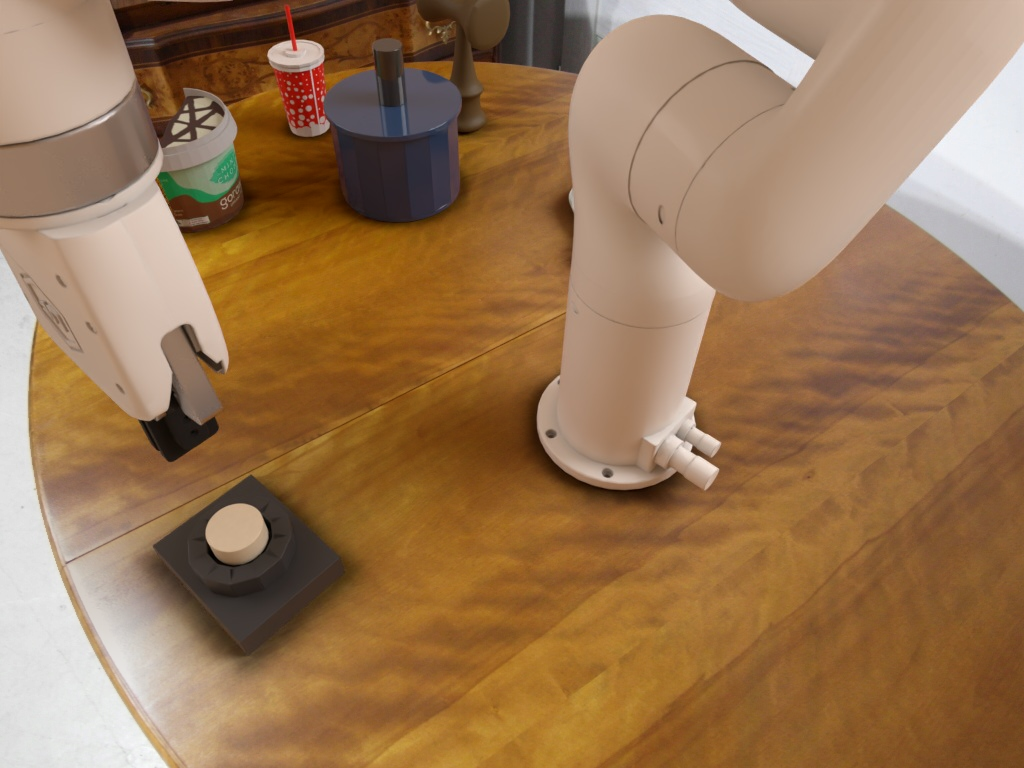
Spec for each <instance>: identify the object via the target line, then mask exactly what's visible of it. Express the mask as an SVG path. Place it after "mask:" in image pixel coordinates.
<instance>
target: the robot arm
mask: <svg viewBox="0 0 1024 768" xmlns="http://www.w3.org/2000/svg"><path fill="white" fill-rule="evenodd" d="M150 1H151V2H152V1H153V2H155V1H156V2H186V3H187V2H188V3H218V2H231V1H232V0H149V2H150ZM728 1H730V3H731V4H732V5H733V6H734V7H736V9H738V10H739V11H740V12H741V13H743V14H744V15H746V16H747V17H749V18H750V19H752V20H753V21H754V22H756V23H757V24H759V25H760V26H762V27H763V28H764V29H766V30H767V31H769V32H770V33H772V34H774V35H775V36H777V37H778V38H779V39H781V40H783V41H785V42H786V43H787V44H789V45H790V46H792V47H794V49H797V50H798V51H800V52H801V53H803V54H805V55H806V56H807V57H809V58H811V60H814V61H813V63H812V64H811V65H810V68H809V69H808V70H807V72H806V74H805V75H804V76H803V78H802V79H801V81H800V82H799V84H798V85H797V87H796V86H794V85H793V84H791V83H790V82H788V81H787V80H785V79H784V78H782V77H781V76H779V75H778V74H777V73H775V71H774V70H773V69H772V68H770V67H769V66H768V65H766V64H765V63H763V62H762V61H760V60H758V59H757V58H755V57H754V56H753V55H751V54H750V53H749V52H747V51H745V50H744V49H742V48H741V47H740V46H739V45H736V44H735V43H734V42H733V41H731V40H729V39H728V38H726V37H725V36H724V35H722V34H720V33H719V32H717V31H715V30H713V29H712V28H710V27H708V26H706V25H704V24H702V23H700V22H698V21H694V20H691V19H689V18H686V17H682V16H680V15H679V16H678V15H674V14H661V13H660V14H650V15H644V16H641V17H637V18H632V19H630V20H628V21H625V22H624V23H622V24H620V25H619V26H617V27H615V28H614V29H612V30H611V31H610V32H608V33H607V34H606V35H605V36H604V37H603V38H602V39H601V40H600V41H599V42H598V43H597V44H596V45H595V46H594V48H593V49H592V50H591V52H590V53H589V55H588V56H587V57H586V59H585V61H584V62H583V65H582V66H581V68H580V70H579V73H578V74H577V77H576V79H575V82H574V85H573V88H572V89H573V90H572V93H571V98H570V103H569V111H568V122H567V125H568V126H567V137H568V138H567V139H568V140H567V141H568V155H569V165H570V175H571V183H572V188H573V195H574V213H573V237H572V238H573V239H572V252H571V262H570V263H571V264H570V271H569V280H568V289H567V300H566V312H565V322H564V332H563V343H562V354H561V361H560V362H561V363H560V373H559V375H557V376H556V377H554V379H553V380H552V381H551V382H550V383H549V384H548V385H547V387H546V388H545V389H544V391H543V393H542V394H541V397H540V398H539V399H540V400H539V402H538V405H537V413H536V430H537V435H538V438H539V441H540V444H541V445H542V447H543V449H544V451H545V453H546V454H547V455H548V456H549V458H550V459H551V461H553V463H554V464H555V465H557V466H558V467H559V468H560V469H561V470H563V472H565V473H567V475H569V476H571V477H572V478H575V479H576V480H578V481H581V482H583V483H586V484H588V485H590V486H593V487H597V488H603V489H606V490H617V491H629V490H630V491H631V490H640V489H644V488H647V487H651V486H654V485H657V484H659V483H661V482H663V481H666V480H667V479H669V478H670V477H672V476H673V475H674V474H675V473H679V474H681V475H682V476H683V478H685V479H686V480H687V481H689V482H690V483H692V484H693V485H695V486H696V487H698V488H699V489H701V490H702V491H704V492H705V491H707V490H708V489H709V488H710V486H712V484H713V483H714V481H715V479H716V478H717V476H718V474H719V472H720V468H718V466H716V465H714V464H713V463H711V462H709V461H708V460H706V459H705V458H703V457H702V456H700V455H696V454H695V453H693V452H692V449H693V447H695V448H696V450H698V451H700V452H701V453H703V455H706V456H707V457H708V458H710V459H712V458H714V457H715V455H716V454H717V453H718V451H719V450H720V448H721V445H722V442H721V441H719V440H717V438H714V437H713V436H711V435H709V434H708V433H705V432H703V431H702V430H701V429H698V428H697V423H696V419H695V414H694V413H695V411H696V407H697V401H694V400H693V399H692V398H690V397H689V396H687V393H688V389H689V386H690V382H691V379H692V375H693V371H694V368H695V364H696V361H697V358H698V354H699V350H700V347H701V344H702V340H703V337H704V333H705V329H706V325H707V323H708V319H709V315H710V312H711V308H712V305H713V301H714V299H715V296H716V293H717V292H718V293H720V294H721V295H722V296H725V297H727V298H729V299H731V300H735V301H738V302H743V303H751V304H752V303H756V304H758V303H763V302H769V301H773V300H776V299H779V298H781V297H784V296H786V295H788V294H791V293H792V292H795V290H797V289H799V288H801V287H802V286H804V285H805V284H807V283H808V282H809V281H811V280H812V279H813V278H815V277H816V276H817V275H819V273H820V272H821V271H823V270H824V269H825V268H826V267H827V266H829V265H830V264H831V262H833V260H835V259H836V258H837V257H838V256H839V255H840V254H841V253H842V251H844V250H845V248H846V247H847V246H848V245H849V244H850V243H851V242H852V241H853V240H854V239H855V238H856V237H857V235H859V233H860V232H861V231H862V230H863V229H864V228H865V227H866V225H868V223H869V222H870V221H871V220H872V219H873V218H874V216H875V215H876V214H877V213H878V212H879V211H880V210H881V209H882V208H883V207H884V205H885V204H886V203H887V202H888V201H889V200H890V198H891V197H893V195H894V194H895V193H896V192H897V191H898V190H899V189H900V187H901V186H902V185H903V184H904V183H905V181H907V180H908V179H909V177H910V176H911V175H912V174H913V173H914V172H915V171H916V170H917V168H918V167H920V165H921V164H922V163H923V161H924V160H925V159H926V158H927V157H929V155H930V153H932V151H933V150H934V149H935V148H936V147H937V146H938V145H939V144H940V142H941V141H942V140H943V139H944V138H945V136H947V134H948V133H949V132H950V131H951V130H952V129H953V128H954V126H955V125H956V124H957V123H958V122H959V121H960V120H961V119H962V118H963V116H964V115H965V114H966V113H967V112H968V111H969V110H970V109H971V107H972V106H973V105H974V104H975V103H976V102H977V100H979V98H980V97H981V96H982V95H983V94H984V93H985V92H986V90H987V89H988V88H989V86H991V84H993V82H994V81H995V80H996V78H997V77H998V76H999V75H1000V74H1001V72H1002V71H1003V70H1004V69H1005V68H1006V66H1007V65H1008V64H1009V62H1011V60H1012V59H1013V58H1014V56H1015V55H1016V54H1017V53H1018V51H1019V50H1020V48H1021V47H1022V45H1023V44H1024V0H728ZM162 165H163V152H162V148H161V146H160V140H159V138H158V135H157V132H156V130H155V126H154V124H153V121H152V119H151V114H150V112H149V109H148V107H147V104H146V101H145V98H144V95H143V93H142V90H141V86H140V84H139V80H138V78H137V75H136V73H135V70H134V66H133V62H132V60H131V58H130V55H129V51H128V49H127V46H126V43H125V39H124V37H123V34H122V32H121V29H120V26H119V22H118V20H117V18H116V14H115V11H114V9H113V5H112V3H111V0H0V252H1V254H2V255H3V257H4V259H5V261H6V263H7V265H8V267H9V269H10V270H11V272H12V275H13V276H14V278H15V280H16V283H17V284H18V286H19V288H20V290H21V291H22V294H23V296H24V297H25V299H26V301H27V303H28V305H29V307H30V309H31V311H32V312H33V314H34V316H35V318H36V320H37V322H38V323H39V325H40V326H41V328H42V329H43V331H44V332H45V333H46V334H47V335H48V337H49V338H50V339H51V340H52V341H53V342H54V344H55V345H56V346H57V347H58V348H59V349H60V350H61V351H62V352H63V353H64V354H65V355H66V356H67V357H68V358H69V359H70V360H71V361H72V362H73V363H74V364H75V365H76V366H77V367H78V368H79V369H80V370H81V371H82V372H83V373H84V374H85V375H86V376H87V377H88V378H89V379H90V380H91V381H92V382H93V383H94V384H95V385H96V386H97V387H98V388H99V389H100V390H101V391H102V392H103V393H104V394H105V395H106V396H107V397H108V398H110V399H111V401H113V403H115V405H117V406H118V407H119V408H120V409H121V410H122V411H123V412H124V413H126V414H127V415H128V416H129V417H131V418H134V419H136V420H137V421H138V423H139V425H140V427H141V429H142V430H143V432H144V434H145V436H146V438H147V440H148V442H149V444H150V445H151V446H152V447H153V448H154V449H155V450H156V451H157V452H160V455H161V456H162V457H163V458H164V459H165V460H166V462H168V463H174V462H176V461H177V460H178V459H180V458H181V457H183V456H185V455H187V453H189V452H191V451H192V450H193V449H195V448H197V447H199V446H200V445H201V444H203V443H204V442H206V441H207V440H208V439H210V438H211V437H213V436H215V434H217V433H218V432H219V430H220V426H219V423H218V420H217V418H216V417H217V416H218V415H219V414H221V413H222V412H224V410H225V409H224V407H223V404H222V403H221V400H220V398H219V397H218V395H217V392H216V391H215V388H214V387H213V385H212V383H211V381H210V379H209V377H208V375H207V373H206V371H205V369H204V367H203V366H202V363H201V362H200V360H201V361H202V362H203V363H204V364H205V365H207V366H208V367H209V368H210V369H211V370H212V371H213V372H215V373H216V374H221V375H225V374H226V373H227V371H228V368H229V362H230V358H229V352H228V347H227V344H226V340H225V337H224V333H223V330H222V328H221V325H220V322H219V319H218V317H217V314H216V311H215V308H214V306H213V303H212V300H211V298H210V296H209V293H208V291H207V289H206V285H205V284H204V281H203V279H202V276H201V275H200V272H199V270H198V267H197V265H196V262H195V261H194V258H193V257H192V256H193V255H192V254H191V251H190V249H189V247H188V245H187V242H186V241H185V239H184V236H183V234H182V231H181V229H180V227H179V224H178V222H177V220H176V218H175V216H174V214H173V212H172V211H171V209H170V205H169V203H167V202H168V201H167V200H166V198H165V196H164V194H163V192H162V190H161V188H160V186H159V184H158V182H157V181H156V179H157V178H158V177H157V176H158V175H159V173H160V170H161V168H162Z"/></svg>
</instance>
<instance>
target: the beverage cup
mask: <svg viewBox="0 0 1024 768" xmlns="http://www.w3.org/2000/svg"><path fill="white" fill-rule="evenodd" d="M283 6H284V11H285V12H284V13H285V16H286V17H285V18H286V21H287V26H288V33H289V36H290V37H289V38H290V40H286V41H282V42H279V43H277V44H275V45H273V46H272V47H270V49H268V52H267V59H268V63H269V64H270V66H271V68H272V69H273V73H274V76H275V80H276V83H277V87H278V90H279V93H280V97H281V101H282V105H283V108H284V111H285V114H286V118H287V122H288V125H289V128H290V129H289V130H290V131H291V132H292V134H294V135H296V136H297V137H305V138H309V137H310V138H311V137H313V138H314V137H317V136H320V135H322V134H325V133H326V132H327V131H328V130H329V129H330V127H331V126H330V123H329V122H328V120H327V119H326V117H325V114H324V109H323V101H324V98H325V96H326V94H327V87H326V76H325V67H324V66H325V65H324V61H325V58H326V57H325V48H324V47H323V46H322V45H321V44H320V43H318V42H316V41H313V40H307V39H296V35H295V30H294V29H295V28H294V25H293V19H292V13H291V7H290V4H288V3H286V4H283Z"/></svg>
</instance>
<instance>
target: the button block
mask: <svg viewBox="0 0 1024 768" xmlns="http://www.w3.org/2000/svg"><path fill="white" fill-rule="evenodd" d="M233 504H248V505H251V506H253V507H255V508H256V509H257V510H258V511H259V512H260V513H261V515H262V517H263V520H264V522H265V524H266V527H267V529H268V533H269V538H268V543H267V545H266V547H265V549H264V550H263V552H262V553H261V554H260V555H259V556H258V557H256V558H255V559H254V560H252V561H250V562H248V563H245V564H241V565H229V564H225V563H223V562H221V561H220V560H218V559H217V558H216V556H215V555H214V553H213V551H212V549H211V547H210V545H209V544H208V542H207V539H206V527H207V524H208V522H209V520H210V519H211V518H212V516H213V515H214V514H215V513H217V512H218V511H219V510H221V509H222V508H224V507H226V506H229V505H233ZM152 548H153V550H154V551H155V553H156V555H157V556H158V557H159V559H160V560H161V562H162V563H163V564H164V566H165V567H166V568H167V569H168V570H169V571H170V572H171V573H172V574H173V575H174V576H175V578H176V579H177V580H178V581H179V582H180V583H181V584H182V585H183V586H184V588H185V589H186V590H187V591H188V592H189V593H190V594H191V595H192V597H193V598H195V599H196V601H197V602H198V603H199V604H200V605H201V606H202V607H203V609H204V610H205V611H206V612H207V613H208V614H209V616H211V618H212V619H213V620H214V621H215V622H216V623H217V624H218V626H219V627H221V628H222V629H223V631H224V632H225V633H226V634H227V635H228V637H230V639H232V641H234V643H235V644H236V645H237V647H239V648H240V650H242V652H243V653H244V654H245V655H246V656H247V657H250V656H251V655H252V654H253V653H254V652H255V651H256V650H258V649H259V648H260V647H261V646H262V645H264V643H266V642H267V641H268V640H269V639H270V638H272V636H274V635H275V634H276V633H277V632H278V631H279V630H280V629H282V628H283V627H284V626H285V625H286V624H287V623H289V622H290V621H291V620H292V619H293V618H295V617H296V616H297V615H298V614H300V612H302V611H303V610H304V609H305V608H306V607H307V606H308V605H310V604H311V603H312V602H313V601H314V600H315V599H317V598H318V597H319V596H320V595H321V594H322V593H323V592H325V590H327V589H328V588H329V587H330V586H331V585H332V584H334V583H335V582H336V581H337V580H338V579H339V578H341V577H342V576H343V575H344V574H345V573H346V571H345V568H344V565H343V562H342V558H341V556H340V555H339V553H337V552H336V551H334V549H332V548H331V546H329V545H328V544H327V542H325V541H324V540H323V539H322V538H320V537H319V536H318V535H317V534H316V533H315V532H314V531H313V530H312V529H311V528H310V527H309V526H308V525H307V524H305V523H304V522H303V520H301V518H299V517H298V516H297V515H296V514H295V513H294V512H292V511H291V509H289V508H288V507H287V506H286V504H284V503H283V502H282V501H281V500H280V499H278V497H277V496H275V494H273V493H272V492H271V491H270V490H269V489H268V488H267V487H266V486H265V485H263V483H262V482H261V481H260V480H259V479H257V478H256V477H255V476H254V475H253V474H249V475H248V476H246V477H245V478H244V479H242V480H241V481H239V482H237V484H235V485H234V486H233V487H231V488H230V489H229V490H227V491H226V492H224V493H223V494H222V495H220V496H219V497H217V498H216V499H215V500H213V501H212V502H211V503H210V504H208V505H207V506H205V507H204V508H203V509H201V510H200V511H198V512H197V513H196V514H194V515H193V516H191V517H190V518H189V519H187V520H186V521H184V522H183V523H182V524H180V525H178V527H176V528H175V529H173V530H172V531H171V532H169V533H168V534H167V535H165V536H164V537H163V538H161V539H160V540H158V541H157V542H156V543H154V544H153V545H152Z"/></svg>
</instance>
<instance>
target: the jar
mask: <svg viewBox="0 0 1024 768" xmlns="http://www.w3.org/2000/svg"><path fill="white" fill-rule="evenodd" d="M329 127H330V131H331V137H332V144H333V148H334V149H333V150H334V154H335V160H336V166H337V172H338V178H339V183H340V189H341V192H342V195H343V198H344V200H345V202H346V203H347V205H348V206H349V207H350V208H351V209H352V210H353V211H355V212H357V213H358V214H360V215H362V216H364V217H366V218H369V219H371V220H376V221H381V222H387V223H408V222H415V221H420V220H421V221H422V220H425V219H427V218H430V217H433V216H436V215H437V214H439V213H442V212H443V211H445V210H446V209H448V208H449V207H450V206H451V205H452V204H453V203H454V202H455V200H457V197H458V196H459V194H460V190H461V175H460V174H461V173H460V172H461V171H460V170H461V169H460V147H459V146H460V145H459V131H458V118H456V119H455V120H454V122H453V123H451V124H450V125H449V126H448V127H446V128H444V129H443V130H441V131H439V132H437V133H435V134H432V135H429V136H427V137H423V138H419V139H415V140H410V141H402V142H375V141H368V140H362V139H358V138H354V137H351V136H349V135H346V134H344V133H342V132H340V131H339V130H337V129H335V128H334V127H333V126H332V125H331V124H330V126H329Z"/></svg>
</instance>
